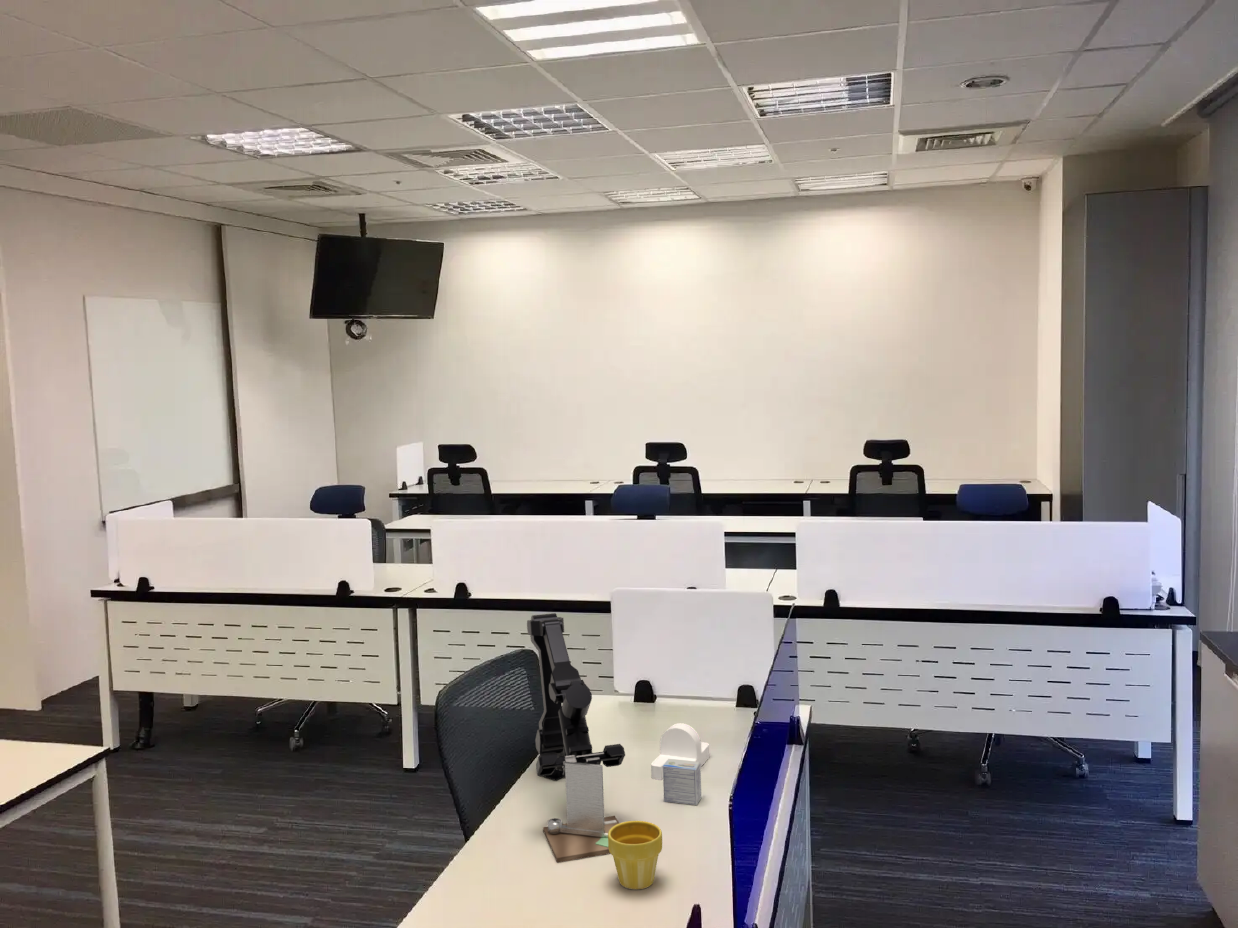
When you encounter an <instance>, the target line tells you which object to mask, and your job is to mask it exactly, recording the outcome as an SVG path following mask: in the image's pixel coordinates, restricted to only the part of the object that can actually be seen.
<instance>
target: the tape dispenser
mask: <svg viewBox="0 0 1238 928" xmlns="http://www.w3.org/2000/svg"><path fill="white" fill-rule="evenodd" d="M668 759H676V760H687V761H695V762H700V769H702V767H703V766H704V765H705V763H706V762H707V761H708V760H709V759H710V744H709V742H705V741H701V738H700V735H699V733H698V732H697V730H695V728H693V727H692V726H691V725H689V724H687V723H683V722H681V723H680V722H679V723H678V722H677V723H675V724H672V725H671V726H669V727H668V728H667V729H666V730H665V731H664V732H663V734H662V735H661V737H660V741H659V755H658V756H657V757H656V758H655V759H654V760H653V761H652V762H651V764H650V773H651V776H650V777H651V779H652V780H657V781H663V765H664V764H665V762H666V761H667V760H668ZM707 759H708V760H707ZM706 760H707V761H706ZM705 761H706V762H705ZM703 764H704V765H703ZM702 765H703V766H702ZM701 766H702V767H701Z"/></svg>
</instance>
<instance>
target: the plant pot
mask: <svg viewBox="0 0 1238 928" xmlns="http://www.w3.org/2000/svg"><path fill="white" fill-rule="evenodd" d="M608 847H609V852H610V853H611V854H610V855H611V856H612V859H613V862H614V865H615V869H616V874H617V877H618V881H619V884H620V885H621V886H622V887H623V888H625V889H629V890H643V889H646V888H648V887H651V886H652V885H653V884H654V881H655V875H656V870H657V865H658V859H659V854H661V853H662V850H663V831H662V830H661V828H660V826H659V825H656V824H655V823H652V822H649V821H646V820H645V821H643V820H629V821H622V822H619V824H617V825H615V826H613V827H612V828H611V829H610V830H609V832H608Z"/></svg>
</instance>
